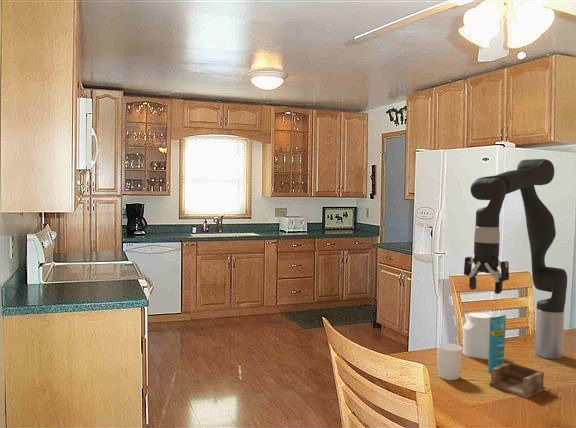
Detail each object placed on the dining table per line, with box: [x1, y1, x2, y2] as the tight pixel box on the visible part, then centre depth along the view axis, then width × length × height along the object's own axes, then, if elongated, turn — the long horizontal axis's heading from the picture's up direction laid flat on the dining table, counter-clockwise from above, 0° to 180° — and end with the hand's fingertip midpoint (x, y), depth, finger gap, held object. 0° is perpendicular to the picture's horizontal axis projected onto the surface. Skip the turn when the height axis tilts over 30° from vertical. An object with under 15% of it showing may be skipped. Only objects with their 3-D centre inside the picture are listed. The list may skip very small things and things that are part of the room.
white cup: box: [436, 342, 463, 381], centre depth 169 cm, size 8×8×10 cm
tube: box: [487, 314, 507, 374], centre depth 174 cm, size 7×5×19 cm, turn 123°
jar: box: [462, 312, 492, 360], centre depth 192 cm, size 12×10×15 cm
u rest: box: [489, 362, 546, 399], centre depth 160 cm, size 11×12×6 cm
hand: (485, 291), depth 164 cm, fingers open, 8 cm apart
